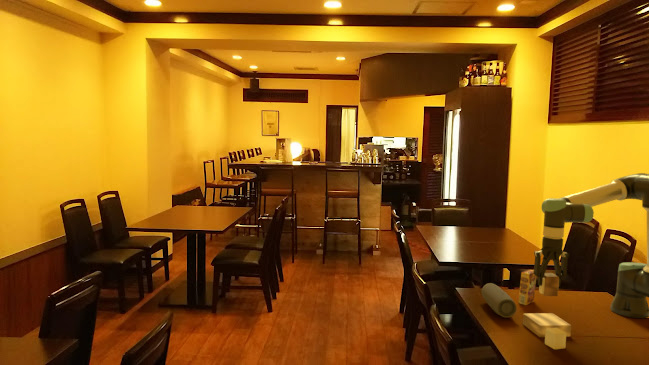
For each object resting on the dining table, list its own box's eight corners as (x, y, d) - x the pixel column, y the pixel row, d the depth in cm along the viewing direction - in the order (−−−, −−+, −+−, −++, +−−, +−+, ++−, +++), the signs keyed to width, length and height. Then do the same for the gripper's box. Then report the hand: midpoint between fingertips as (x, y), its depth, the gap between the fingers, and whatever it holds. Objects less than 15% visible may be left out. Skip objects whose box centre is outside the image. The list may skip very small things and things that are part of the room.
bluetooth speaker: (517, 320, 206) (518, 298, 205) (495, 320, 206) (496, 297, 205) (499, 302, 229) (500, 282, 228) (479, 302, 229) (480, 281, 228)
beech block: (551, 324, 204) (552, 313, 204) (570, 337, 191) (571, 325, 191) (522, 324, 203) (523, 313, 202) (539, 337, 190) (540, 325, 190)
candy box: (527, 305, 226) (529, 274, 224) (518, 303, 229) (520, 272, 227) (534, 301, 232) (537, 270, 230) (525, 299, 235) (528, 268, 233)
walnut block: (551, 292, 198) (552, 273, 197) (557, 296, 193) (559, 276, 192) (539, 291, 198) (540, 272, 197) (545, 295, 193) (546, 276, 192)
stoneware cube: (555, 342, 185) (556, 327, 185) (565, 348, 180) (566, 332, 180) (544, 343, 184) (545, 328, 183) (554, 349, 179) (555, 334, 178)
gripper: (569, 235, 197) (565, 290, 200) (526, 234, 197) (522, 289, 199) (580, 239, 190) (575, 296, 192) (535, 238, 189) (530, 295, 192)
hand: (548, 293), depth 196 cm, fingers closed on walnut block, 5 cm apart
